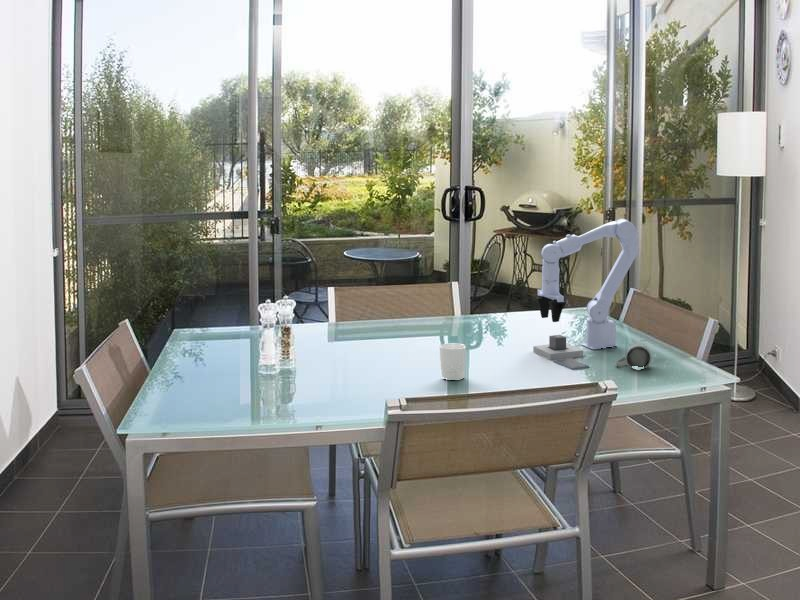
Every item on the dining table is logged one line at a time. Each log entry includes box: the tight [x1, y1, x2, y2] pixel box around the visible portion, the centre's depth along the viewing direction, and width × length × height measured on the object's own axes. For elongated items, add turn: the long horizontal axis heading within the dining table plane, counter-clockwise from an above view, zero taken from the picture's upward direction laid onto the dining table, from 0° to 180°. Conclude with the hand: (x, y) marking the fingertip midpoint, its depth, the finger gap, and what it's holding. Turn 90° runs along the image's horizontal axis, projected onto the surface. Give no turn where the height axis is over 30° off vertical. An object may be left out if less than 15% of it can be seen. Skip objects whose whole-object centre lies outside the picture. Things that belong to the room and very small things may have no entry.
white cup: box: [439, 342, 467, 380], centre depth 282 cm, size 8×8×10 cm
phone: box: [552, 358, 590, 371], centre depth 295 cm, size 6×11×1 cm, turn 23°
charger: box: [548, 334, 567, 351], centre depth 309 cm, size 4×4×6 cm
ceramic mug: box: [615, 342, 652, 369], centre depth 290 cm, size 11×8×8 cm
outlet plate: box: [532, 342, 584, 361], centre depth 309 cm, size 12×12×2 cm
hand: (550, 319), depth 318 cm, fingers open, 7 cm apart
